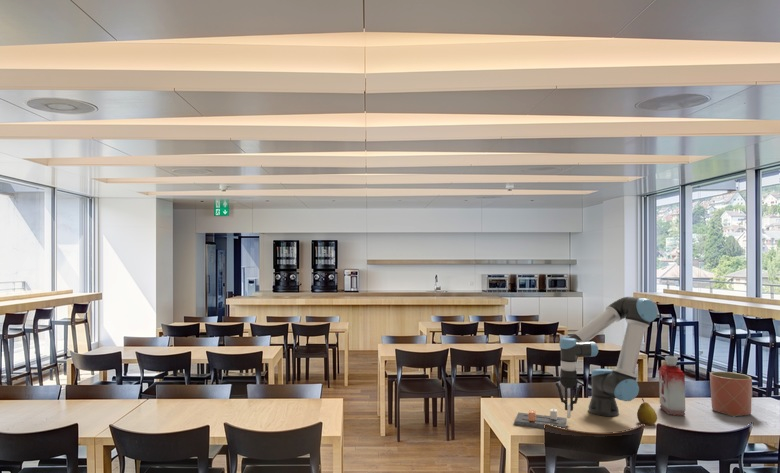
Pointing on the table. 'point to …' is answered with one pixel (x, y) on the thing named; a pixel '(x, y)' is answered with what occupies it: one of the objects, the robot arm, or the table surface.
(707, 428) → the table surface
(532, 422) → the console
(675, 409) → the bottle
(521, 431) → the table surface
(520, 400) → the table surface
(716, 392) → the planter
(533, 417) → the fader orange
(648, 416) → the fruit
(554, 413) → the fader grey
